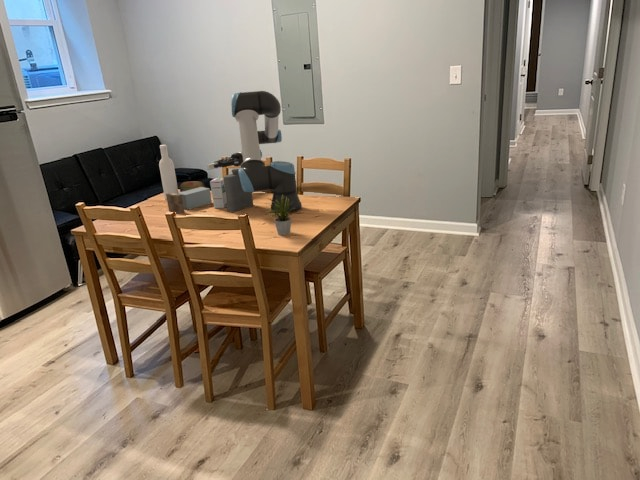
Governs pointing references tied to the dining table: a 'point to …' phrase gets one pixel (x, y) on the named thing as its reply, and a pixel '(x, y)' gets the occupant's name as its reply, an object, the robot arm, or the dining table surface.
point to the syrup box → (218, 193)
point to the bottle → (167, 172)
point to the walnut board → (175, 202)
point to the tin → (190, 185)
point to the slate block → (196, 197)
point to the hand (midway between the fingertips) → (208, 167)
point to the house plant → (282, 217)
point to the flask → (236, 193)
